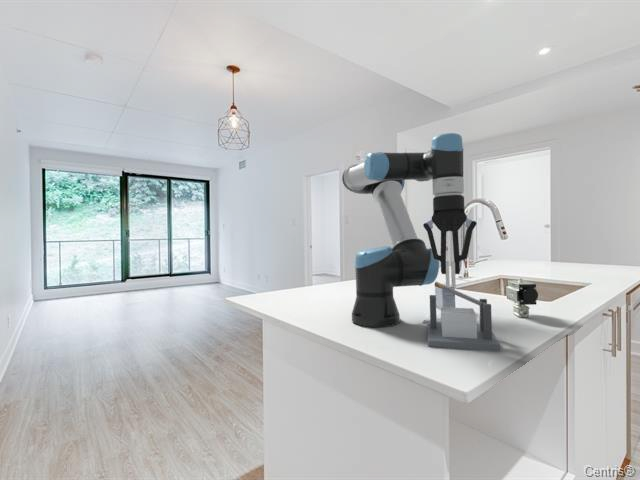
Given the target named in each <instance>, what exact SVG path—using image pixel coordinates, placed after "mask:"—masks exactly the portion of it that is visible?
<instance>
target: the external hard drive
mask: <svg viewBox="0 0 640 480" xmlns="http://www.w3.org/2000/svg"><path fill="white" fill-rule="evenodd" d="M436 321H437V325H441V310H440V311H437V310H436ZM422 324H427V325H430V314H428V316H426V318H424V319H423V320H422Z"/></svg>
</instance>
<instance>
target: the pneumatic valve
mask: <svg viewBox="0 0 640 480" xmlns="http://www.w3.org/2000/svg"><path fill="white" fill-rule="evenodd" d="M504 296H505V297H506V299H507V300H509V301H511V302H514V304H513V305H512V307H513V314H512V315H513V316H515V317H518V318H531V317H530V316H531V315H530V306H531V305H532V306H533V305H534V306H536V305H537V300H538V298H539V293H538V291H537V284H536V283H533V282H530V281H527V280H524V279H523V278H518V279H509V280H508V279H507V280H506V285H505V286H504ZM528 305H530V306H528Z"/></svg>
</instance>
